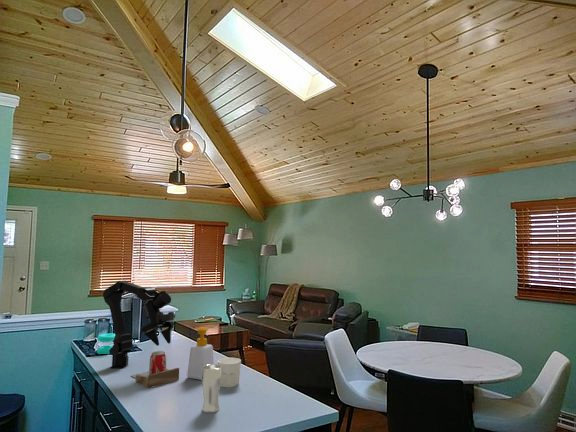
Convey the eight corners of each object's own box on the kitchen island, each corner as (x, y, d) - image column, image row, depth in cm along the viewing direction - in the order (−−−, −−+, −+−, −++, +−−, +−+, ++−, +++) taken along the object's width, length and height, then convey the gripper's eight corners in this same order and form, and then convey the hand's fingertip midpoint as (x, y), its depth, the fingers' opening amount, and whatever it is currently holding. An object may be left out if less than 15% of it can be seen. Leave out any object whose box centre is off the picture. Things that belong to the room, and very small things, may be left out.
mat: (130, 376, 180) (130, 375, 180) (148, 372, 187) (148, 371, 187) (141, 380, 175) (141, 379, 175) (159, 375, 181) (159, 375, 181)
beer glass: (202, 406, 146) (203, 364, 148) (221, 405, 147) (222, 364, 148) (199, 413, 139) (201, 369, 141) (219, 413, 140) (220, 369, 141)
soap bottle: (221, 373, 187) (222, 324, 189) (203, 381, 174) (204, 329, 177) (204, 370, 191) (205, 323, 193) (185, 378, 179) (187, 327, 181)
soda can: (160, 384, 170) (161, 355, 171) (145, 382, 172) (146, 354, 173) (168, 379, 177) (169, 351, 178) (154, 377, 179) (155, 350, 180)
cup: (244, 382, 174) (244, 358, 175) (234, 389, 165) (234, 364, 166) (224, 379, 177) (224, 356, 178) (212, 386, 168) (213, 362, 169)
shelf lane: (135, 382, 172) (136, 370, 173) (164, 374, 183) (165, 363, 184) (149, 387, 165) (150, 375, 166) (178, 379, 176) (179, 368, 177)
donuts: (103, 337, 216) (93, 334, 221) (102, 356, 215) (92, 353, 221) (120, 334, 224) (110, 332, 230) (119, 352, 223) (109, 350, 229)
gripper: (156, 305, 178) (166, 339, 173) (178, 305, 196) (188, 335, 191) (135, 316, 180) (146, 349, 175) (159, 314, 197) (169, 344, 193)
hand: (163, 344), depth 183 cm, fingers open, 9 cm apart
